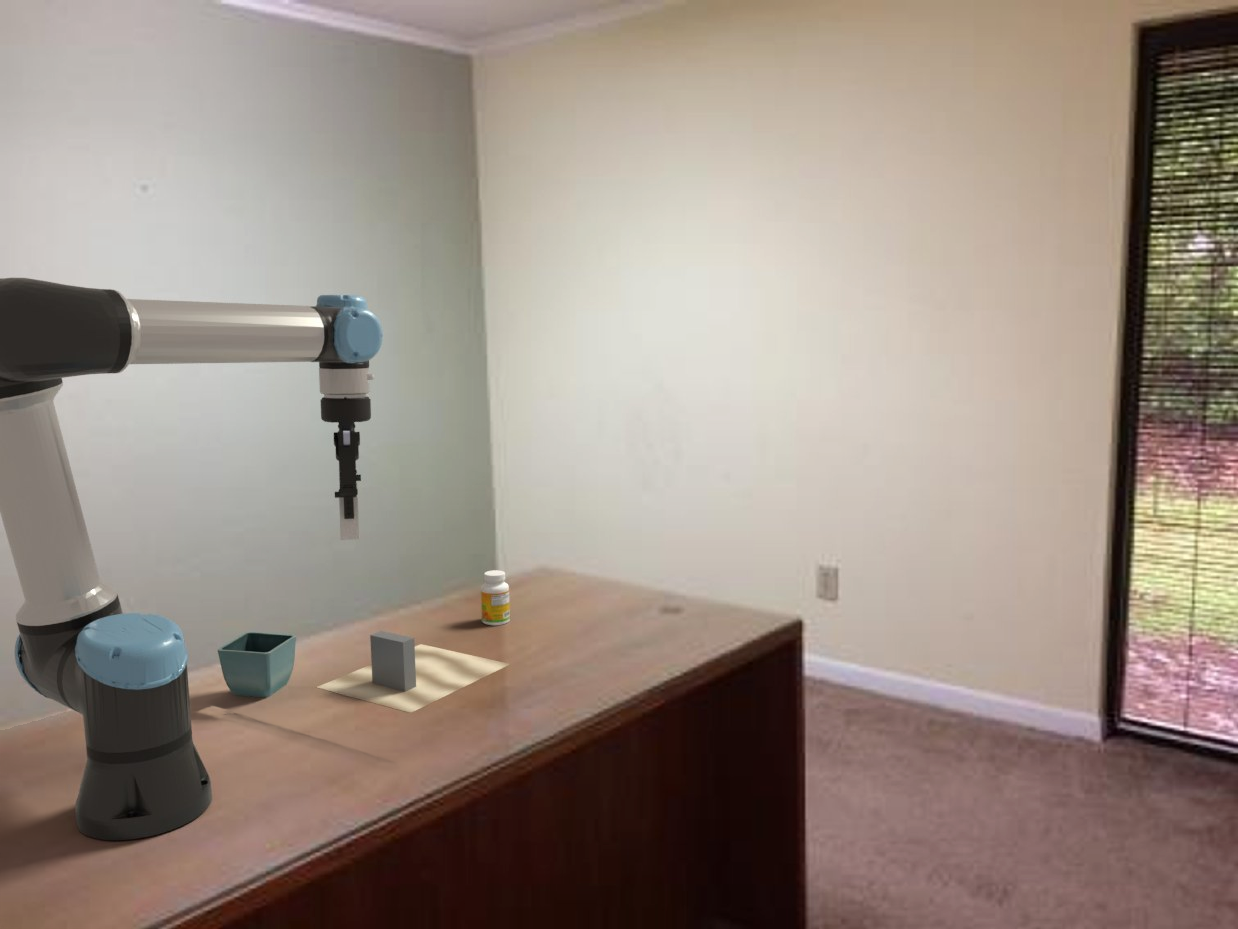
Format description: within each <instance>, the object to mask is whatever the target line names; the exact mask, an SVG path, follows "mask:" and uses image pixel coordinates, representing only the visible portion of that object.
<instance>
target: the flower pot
mask: <svg viewBox="0 0 1238 929" xmlns="http://www.w3.org/2000/svg"><path fill="white" fill-rule="evenodd" d="M296 641H297V635H296V634H287V633H286V634H285V633H284V634H283V633H269V632H257V631H256V632H255V631H247V632H244V633H243V634H241V635H238V637H236V638H234V639H233V640H230V641H229V642H227V643H226V644H225V645H222V646H221V647H219V648H218V649H217V654H218V658H219V664H220V667H221V668H220V669H221V671H222V674H223V675H222V676H223V679H224V681H225V684H226V686H227V687H228V689H229V691H230V692H231V694H233V696H241V697H243V696H244V697H258V698H270V697H271V696H272V695H273V694H275V693H276V692H278V691H280V690H281V689H282V688H284V687H285V686H286V685H287V684H288V683H289V680H290V679H291V675H292V673H293V670H294V665H295V656H296V654H295V653H296V645H297V644H296V643H297V642H296Z"/></svg>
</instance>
